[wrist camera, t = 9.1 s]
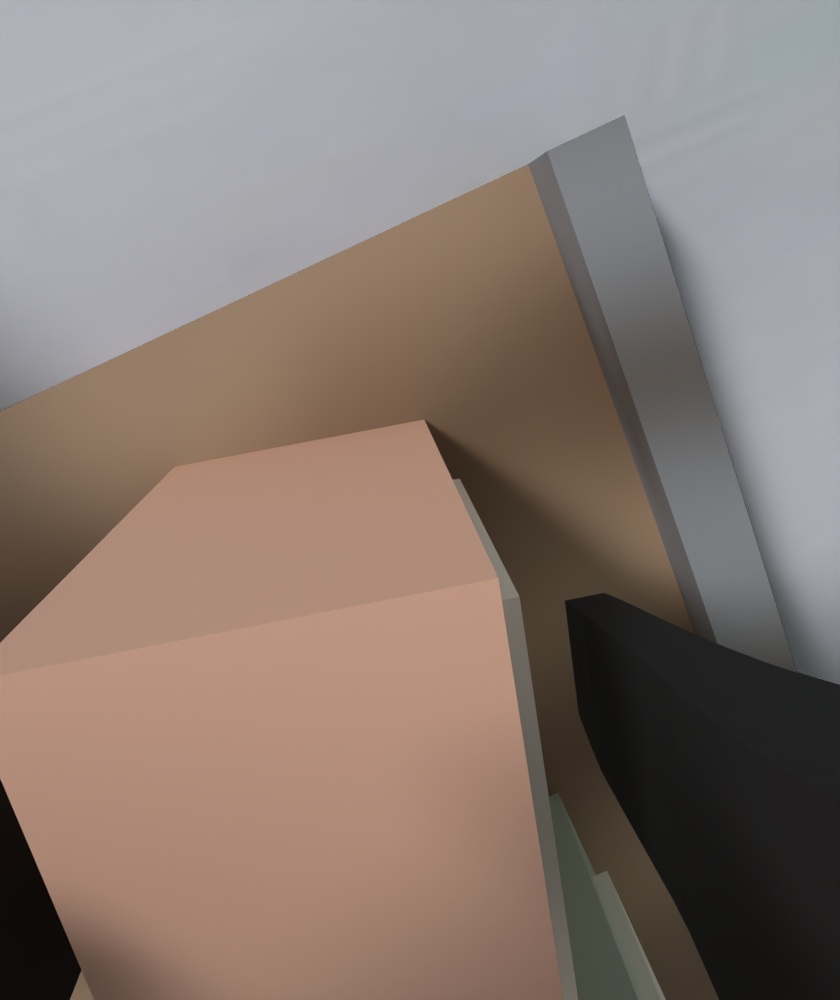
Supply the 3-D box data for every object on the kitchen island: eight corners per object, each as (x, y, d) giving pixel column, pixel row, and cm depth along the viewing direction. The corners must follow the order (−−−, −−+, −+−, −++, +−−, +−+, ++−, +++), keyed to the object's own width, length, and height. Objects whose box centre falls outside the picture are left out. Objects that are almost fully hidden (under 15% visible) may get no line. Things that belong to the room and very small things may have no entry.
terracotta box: (270, 796, 15) (193, 1233, 8) (174, 467, 12) (-41, 683, 6) (497, 750, 15) (612, 1142, 8) (440, 416, 13) (533, 571, 6)
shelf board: (-323, 565, 13) (-464, 624, 11) (586, 140, 13) (637, 109, 10) (204, 1187, 19) (183, 1308, 17) (845, 928, 18) (913, 1019, 16)
